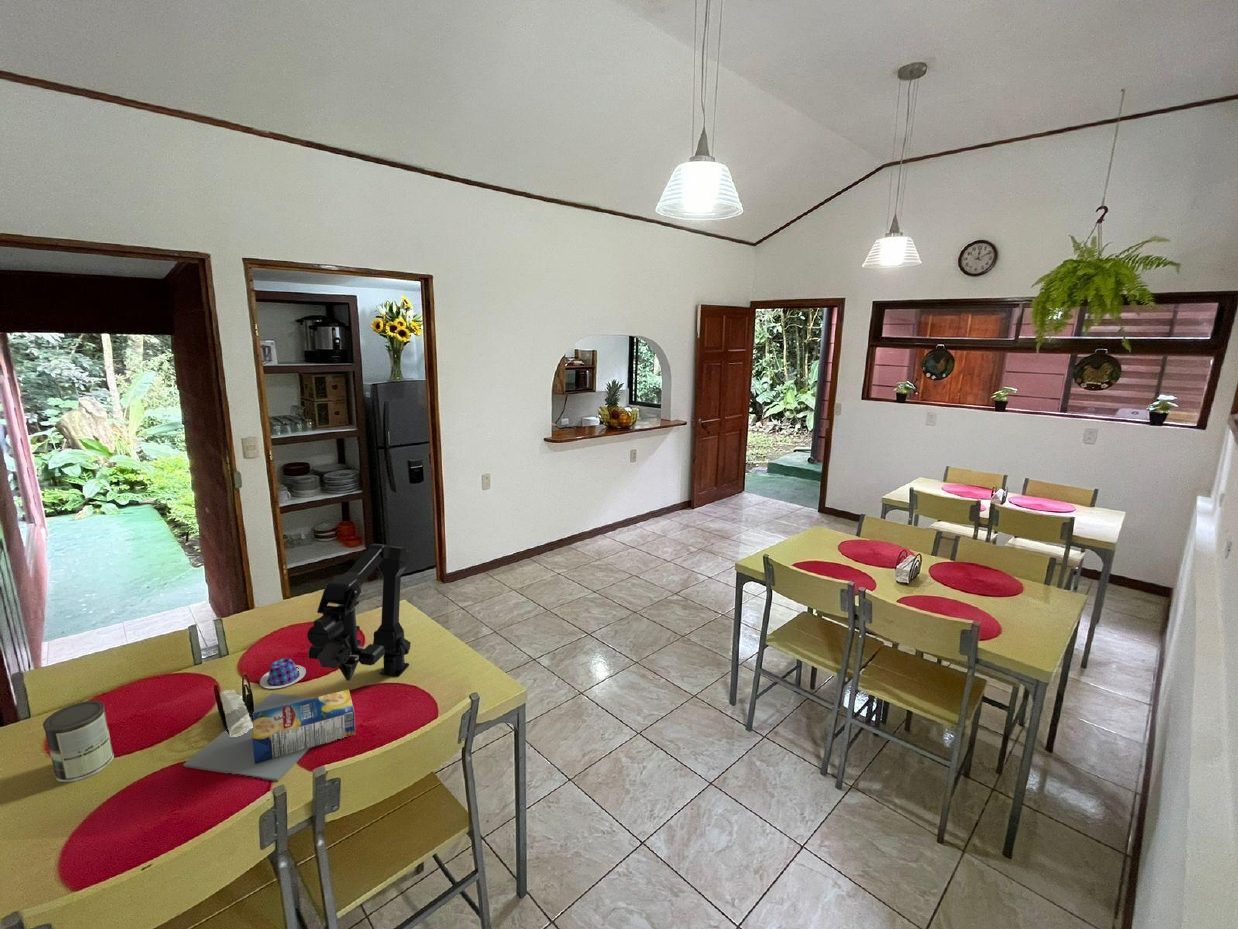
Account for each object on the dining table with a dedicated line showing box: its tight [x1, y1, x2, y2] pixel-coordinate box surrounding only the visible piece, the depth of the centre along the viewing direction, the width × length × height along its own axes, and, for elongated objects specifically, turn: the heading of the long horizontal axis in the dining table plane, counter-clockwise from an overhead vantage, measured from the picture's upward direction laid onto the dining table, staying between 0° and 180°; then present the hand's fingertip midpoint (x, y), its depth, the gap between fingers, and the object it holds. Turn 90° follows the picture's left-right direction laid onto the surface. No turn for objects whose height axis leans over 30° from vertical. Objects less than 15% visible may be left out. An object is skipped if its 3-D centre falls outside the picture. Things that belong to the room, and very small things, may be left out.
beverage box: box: [252, 689, 356, 764], centre depth 143 cm, size 7×11×22 cm
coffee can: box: [42, 700, 115, 783], centre depth 131 cm, size 10×10×14 cm
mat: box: [183, 692, 313, 782], centre depth 145 cm, size 28×25×1 cm
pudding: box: [259, 658, 307, 689], centre depth 168 cm, size 12×12×5 cm
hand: (349, 680), depth 150 cm, fingers closed
